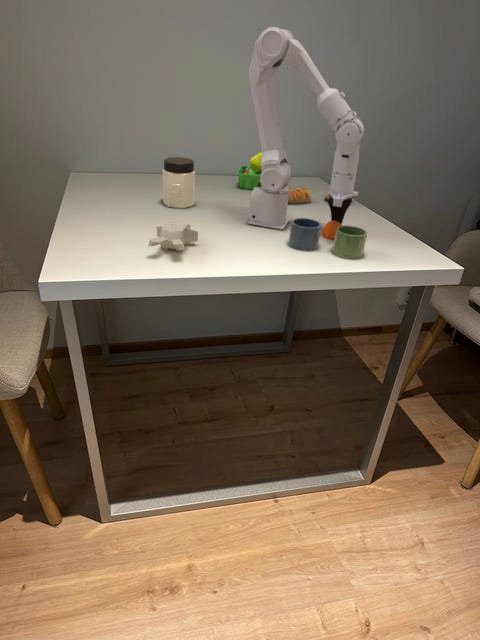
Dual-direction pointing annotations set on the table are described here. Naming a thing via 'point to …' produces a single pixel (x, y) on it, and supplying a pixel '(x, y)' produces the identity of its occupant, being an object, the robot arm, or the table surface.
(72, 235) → the table surface
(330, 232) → the ball
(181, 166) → the jar
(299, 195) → the pastry
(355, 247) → the sage cup
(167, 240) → the white toy turtle
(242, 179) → the fruit basket
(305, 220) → the slate cup
